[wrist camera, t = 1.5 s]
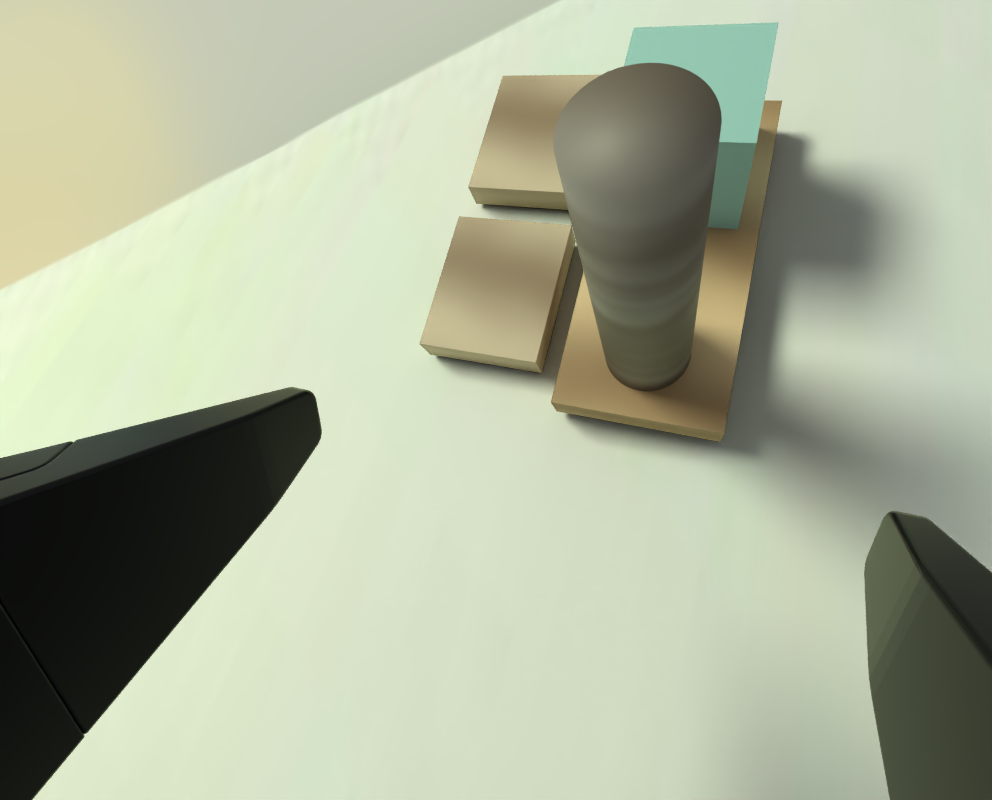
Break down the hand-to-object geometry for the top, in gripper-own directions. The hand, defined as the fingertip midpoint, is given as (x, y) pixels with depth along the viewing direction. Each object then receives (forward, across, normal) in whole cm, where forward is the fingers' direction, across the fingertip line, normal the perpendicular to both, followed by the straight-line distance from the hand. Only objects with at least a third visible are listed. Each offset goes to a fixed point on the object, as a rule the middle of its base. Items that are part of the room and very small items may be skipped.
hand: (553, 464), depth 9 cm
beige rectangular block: (+17, +6, 0) cm, 18 cm away
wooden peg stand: (+16, 0, +1) cm, 16 cm away
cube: (+18, 0, -2) cm, 18 cm away
